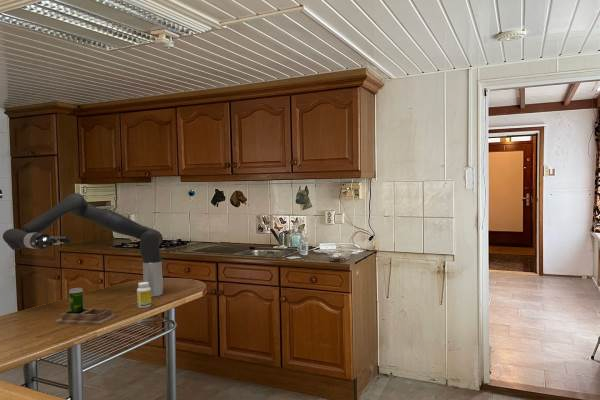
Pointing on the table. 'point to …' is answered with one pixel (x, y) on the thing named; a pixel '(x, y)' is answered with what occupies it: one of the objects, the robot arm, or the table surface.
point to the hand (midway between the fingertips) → (61, 242)
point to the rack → (87, 317)
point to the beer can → (76, 301)
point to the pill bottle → (143, 295)
